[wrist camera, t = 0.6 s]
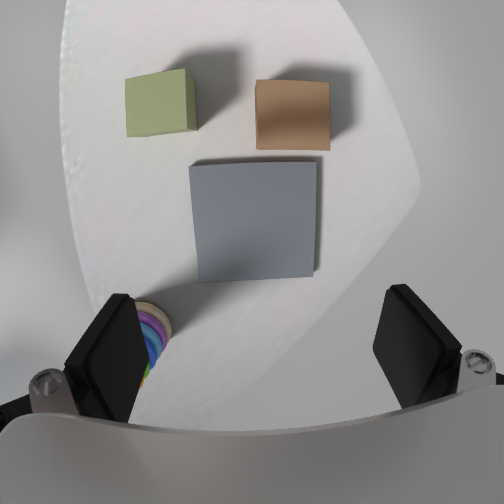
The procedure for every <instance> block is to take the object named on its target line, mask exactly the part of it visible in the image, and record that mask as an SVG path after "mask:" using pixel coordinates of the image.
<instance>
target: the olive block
mask: <svg viewBox="0 0 504 504" xmlns="http://www.w3.org/2000/svg"><path fill="white" fill-rule="evenodd" d="M125 102H126V127H127V137H148V136H155V135H163V134H170V133H179V132H188V131H197V116H196V89H195V80H194V78H193V77H192V76H191V75H190V74H189V73H188V71H187V70H186V69H177V70H171V71H164V72H159V73H153V74H148V75H143V76H138V77H133V78H129V79H125Z"/></svg>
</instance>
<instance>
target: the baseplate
mask: <svg viewBox="0 0 504 504" xmlns="http://www.w3.org/2000/svg"><path fill="white" fill-rule="evenodd" d="M189 176H190V189H191V200H192V211H193V222H194V232H195V241H196V250H197V259H198V267H199V275H200V282H211V281H237V280H260V279H280V278H299V277H313V271H314V251H315V227H316V162H315V161H276V162H244V163H225V164H209V165H196V166H189Z"/></svg>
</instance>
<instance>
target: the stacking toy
mask: <svg viewBox="0 0 504 504" xmlns="http://www.w3.org/2000/svg"><path fill="white" fill-rule="evenodd" d="M135 305H136V309H137V313H138V317H139V321H140V325H141V328H142V332H143V336H144V339H145V343H146V346H147V350H148V353H149V362H148V365H147V368H146V371H145V374H144V376H143V379H142V382H141V385H140V388H141V387H142V385H143V382H144V379H145V378H146V377H147V376H148V374H149V371H150V370H151V369H152V368H153V367H154V365H155V363H156V360H157V359H158V358H159V357H160V355H161V353H162V352H163V350H164V349H165V347H166V344H167V343H168V342H169V340H170V338H171V334H172V327H171V323H170V321H169V319H168V317H167V316H166V315H165V313H164V312H163V311H162V310H160V309H159V308H158V307H156V306H154V305H152V304H150V303H146V302H135ZM140 388H139V389H140Z"/></svg>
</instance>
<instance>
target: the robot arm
mask: <svg viewBox="0 0 504 504" xmlns="http://www.w3.org/2000/svg"><path fill="white" fill-rule="evenodd" d="M461 348H462V345H461V344H460V343H459V341H458V340H457V339H456V338H455V337H454V336H453V335H452V333H451V332H450V331H449V330H448V329H447V328H446V327H445V325H444V324H443V323H442V322H441V321H440V320H439V319H438V318H437V316H436V315H435V314H434V313H433V312H432V311H431V310H430V309H429V308H428V307H427V305H426V304H425V303H424V302H423V301H422V300H421V299H420V298H419V297H418V296H417V295H416V294H415V293H414V292H413V291H412V290H411V289H410V288H409V287H408V286H407V285H406V284H398V285H392V286H391V287H390V289H388V290H387V291H386V294H385V298H384V303H383V307H382V311H381V316H380V320H379V324H378V328H377V332H376V335H375V339H374V343H373V352H374V354H375V356H376V358H377V360H378V362H379V364H380V366H381V368H382V370H383V372H384V374H385V376H386V377H387V379H388V381H389V383H390V385H391V387H392V389H393V391H394V393H395V395H396V397H397V399H398V401H399V403H400V405H401V407H402V409H400V410H396V411H393V412H388V413H384V414H380V415H375V416H371V417H366V418H361V419H355V420H350V421H344V422H338V423H331V424H324V425H317V426H309V427H301V428H300V427H299V428H288V429H276V430H255V431H205V430H204V431H203V430H186V429H172V428H162V427H153V426H144V425H136V424H129V423H128V420H129V417H130V414H131V411H132V408H133V405H134V402H135V399H136V396H137V394H138V391H139V388H140V385H141V382H142V379H143V376H144V374H145V371H146V368H147V365H148V362H149V353H148V350H147V346H146V343H145V339H144V336H143V332H142V328H141V325H140V321H139V317H138V313H137V309H136V305H135V301H134V299H133V298H130V296H129V295H128V294H117V293H114V294H112V295H111V297H110V298H109V299H108V301H107V302H106V304H105V305H104V306H103V308H102V309H101V310H100V312H99V313H98V315H97V316H96V317H95V319H94V320H93V322H92V323H91V324H90V326H89V327H88V329H87V330H86V332H85V333H84V335H83V336H82V337H81V339H80V340H79V342H78V343H77V345H76V346H75V348H74V349H73V351H72V352H71V354H70V355H69V357H68V359H67V360H66V362H65V363H64V365H65V368H64V370H63V372H62V371H61V370H58V369H53V368H51V369H45V370H43V371H41V372H39V373H38V374H36V375H35V376H34V377H33V378H32V380H31V381H30V384H29V394H28V395H25V396H23V397H21V398H18V399H16V400H13V401H11V402H8V403H6V404H3V405H1V406H0V504H504V375H502V374H499V373H496V366H495V363H494V361H493V359H492V358H491V357H490V356H489V355H488V354H486V353H485V352H483V351H480V350H475V349H473V350H468V351H465V352H464V354H463V355H462V354H461V353H460V350H461Z"/></svg>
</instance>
